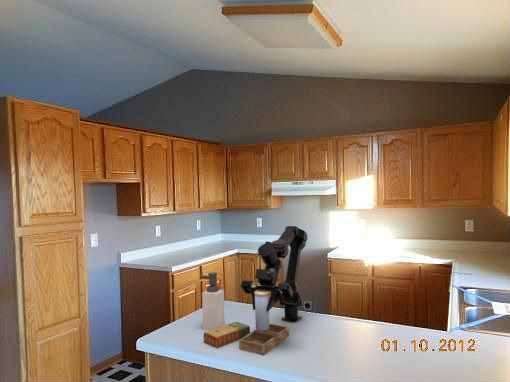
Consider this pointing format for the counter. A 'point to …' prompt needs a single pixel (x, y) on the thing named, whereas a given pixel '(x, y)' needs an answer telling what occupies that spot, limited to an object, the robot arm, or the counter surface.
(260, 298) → the jar
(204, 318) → the soap dispenser
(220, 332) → the carton
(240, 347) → the caddy
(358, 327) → the counter surface
